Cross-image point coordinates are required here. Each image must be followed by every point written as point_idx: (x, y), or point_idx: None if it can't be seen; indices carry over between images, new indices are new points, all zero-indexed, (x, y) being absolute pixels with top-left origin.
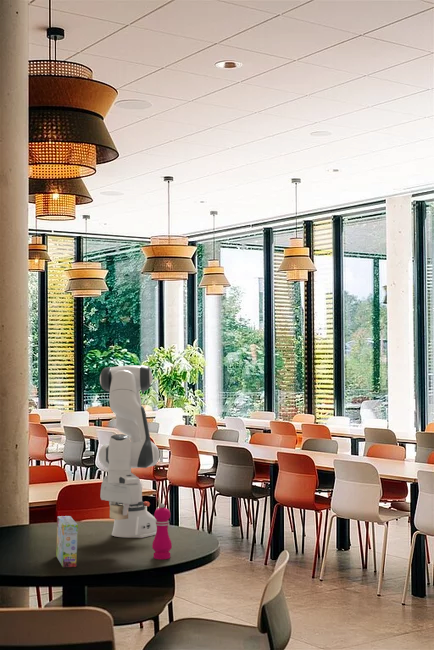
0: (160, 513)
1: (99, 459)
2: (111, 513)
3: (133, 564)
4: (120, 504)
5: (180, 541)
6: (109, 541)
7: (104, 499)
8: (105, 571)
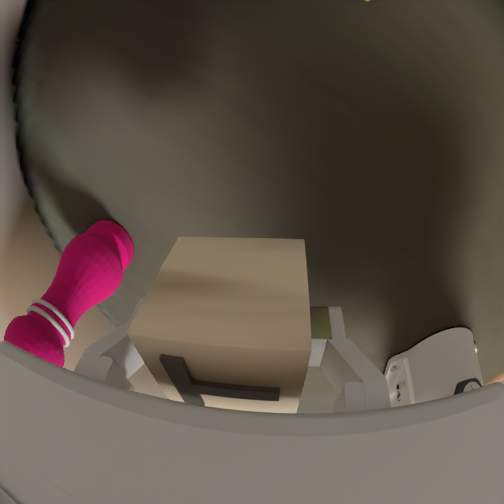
0: (5, 333)
1: None
2: (273, 271)
3: (66, 119)
4: (267, 410)
5: None
6: (443, 289)
7: (461, 400)
8: (44, 15)
